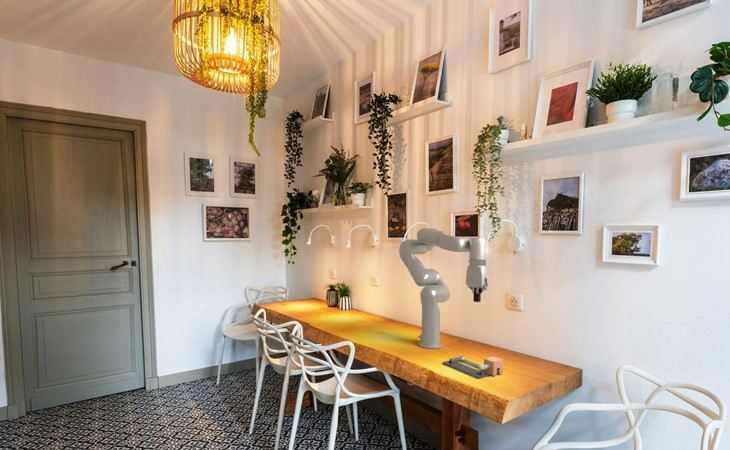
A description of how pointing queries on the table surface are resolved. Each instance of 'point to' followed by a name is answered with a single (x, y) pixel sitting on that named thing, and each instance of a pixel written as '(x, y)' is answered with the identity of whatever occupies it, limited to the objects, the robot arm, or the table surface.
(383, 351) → the table surface
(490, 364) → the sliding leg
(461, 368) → the bolt plate
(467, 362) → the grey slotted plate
